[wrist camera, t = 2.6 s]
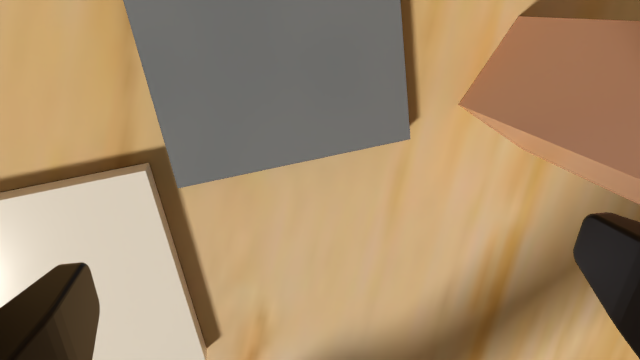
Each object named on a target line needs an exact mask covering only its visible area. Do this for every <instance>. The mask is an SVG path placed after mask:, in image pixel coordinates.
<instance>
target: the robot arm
mask: <svg viewBox="0 0 640 360" xmlns="http://www.w3.org/2000/svg"><path fill="white" fill-rule="evenodd" d="M573 254H574V259H575V261H576V263H577V265H578V266H579V268H580V270H581V271H582V273H583V274H584V276H585V278H586V279H587V281H588V283H589V284H590V286H591V287H592V289H593V291H594V292H595V294H596V296H597V297H598V299H599V300H600V302H601V304H602V305H603V307H604V308H605V310H606V312H607V313H608V315H609V317H610V318H611V320H612V321H613V323H614V324H615V326H616V327H617V329H618V330H619V332H620V333H621V335H622V336H623V337H624V339H625V340H626V341H627V343H628V344H629V345H630V347H631V348H632V349H633V351H634V352H635V353H636V355H637V356H638V357H639V359H640V222H637V221H634V220H631V219H628V218H625V217H622V216H619V215H616V214H613V213H607V212H606V213H596V214H590V215H588V216H586V217H585V219H584V220H583V222H582V225H581V228H580V231H579V234H578V237H577V240H576V243H575V246H574V249H573ZM99 315H100V304H99V299H98V295H97V292H96V288H95V284H94V281H93V277H92V274H91V270H90V268H89V266H88V265H87V264H86V263H84V262H80V263H69V264H60V265H57V266H56V267H54V268H53V269H52V270H50V271H49V272H48V273H46V274H45V275H44V276H42V277H41V278H40V279H38V280H37V281H36V282H34V283H33V284H32V285H30V286H29V287H28V288H26V289H25V290H24V291H22V292H21V293H19V294H18V295H17V296H15V297H14V298H13V299H11V300H10V301H9V302H7V303H6V304H5V305H3V306H2V307H1V308H0V360H92V358H93V352H94V346H95V340H96V334H97V328H98V322H99Z"/></svg>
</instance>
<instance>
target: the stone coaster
mask: <svg viewBox="0 0 640 360" xmlns="http://www.w3.org/2000/svg"><path fill="white" fill-rule="evenodd" d="M80 262H84V263H86V264H87V265H88V266H89V268H90V270H91V274H92V277H93V281H94V284H95V288H96V292H97V295H98V299H99V304H100V315H99V322H98V328H97V334H96V340H95V346H94V352H93V358H92V360H206V356H207V349H206V345H205V342H204V339H203V336H202V333H201V329H200V326H199V323H198V320H197V316H196V313H195V310H194V307H193V304H192V300H191V297H190V294H189V291H188V287H187V284H186V281H185V278H184V275H183V271H182V268H181V265H180V262H179V258H178V255H177V252H176V249H175V245H174V242H173V239H172V236H171V233H170V229H169V226H168V223H167V220H166V216H165V213H164V210H163V207H162V204H161V200H160V197H159V194H158V191H157V187H156V184H155V181H154V178H153V175H152V171H151V168H150V165H149V163H144V164H139V165H134V166H129V167H125V168H120V169H115V170H110V171H105V172H100V173H95V174H90V175H85V176H80V177H75V178H70V179H65V180H60V181H55V182H50V183H45V184H40V185H35V186H30V187H26V188H21V189H16V190H11V191H6V192H1V193H0V308H1V307H2V306H3V305H5V304H6V303H7V302H9V301H10V300H11V299H13V298H14V297H15V296H17V295H18V294H19V293H21V292H22V291H24V290H25V289H26V288H28V287H29V286H30V285H32V284H33V283H34V282H36V281H37V280H38V279H40V278H41V277H42V276H44V275H45V274H46V273H48V272H49V271H50V270H52V269H53V268H54V267H56V266H57V265H60V264H69V263H80Z"/></svg>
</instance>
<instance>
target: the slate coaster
mask: <svg viewBox="0 0 640 360" xmlns="http://www.w3.org/2000/svg"><path fill="white" fill-rule="evenodd" d="M123 1H124V5H125V8H126V11H127V15H128V18H129V22H130V25H131V29H132V32H133V36H134V39H135V42H136V46H137V49H138V53H139V56H140V60H141V63H142V67H143V70H144V73H145V77H146V80H147V84H148V87H149V91H150V94H151V98H152V101H153V104H154V108H155V111H156V115H157V118H158V122H159V125H160V128H161V132H162V135H163V139H164V142H165V146H166V149H167V153H168V156H169V159H170V163H171V166H172V170H173V173H174V177H175V180H176V184H177V187H178V188H181V187H186V186H191V185H196V184H200V183H205V182H210V181H214V180H219V179H224V178H229V177H233V176H238V175H243V174H248V173H252V172H257V171H262V170H266V169H271V168H276V167H281V166H285V165H290V164H295V163H300V162H304V161H309V160H314V159H318V158H323V157H328V156H333V155H337V154H342V153H347V152H351V151H356V150H361V149H366V148H370V147H375V146H380V145H385V144H389V143H394V142H399V141H403V140H408V139H410V127H409V113H408V99H407V85H406V72H405V58H404V44H403V30H402V16H401V2H400V0H123Z"/></svg>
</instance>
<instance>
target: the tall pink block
mask: <svg viewBox="0 0 640 360" xmlns="http://www.w3.org/2000/svg"><path fill="white" fill-rule="evenodd" d="M458 105H460V106H461V107H463V108H464V109H465V110H467V111H468V112H470V113H471V114H473V115H474V116H476V117H477V118H478V119H480V120H481V121H483V122H484V123H486V124H487V125H488V126H490V127H491V128H493V129H494V130H496V131H497V132H499V133H500V134H501V135H503V136H504V137H506V138H507V139H509V140H510V141H511V142H513V143H514V144H516V145H517V146H519V147H520V148H522V149H523V150H525V151H527V152H529V153H531V154H533V155H535V156H537V157H540V158H542V159H544V160H546V161H548V162H550V163H552V164H554V165H556V166H559V167H561V168H563V169H565V170H567V171H569V172H571V173H573V174H576V175H578V176H580V177H582V178H584V179H586V180H588V181H590V182H592V183H595V184H597V185H599V186H601V187H603V188H605V189H607V190H609V191H612V192H614V193H616V194H618V195H620V196H622V197H624V198H626V199H628V200H631V201H633V202H635V203H637V204H639V205H640V21H625V20H599V19H574V18H549V17H523V16H518V18H517V19H516V21H515V22H514V24H513V25H512V27H511V28H510V30H509V31H508V33H507V34H506V36H505V37H504V38H503V40H502V41H501V43H500V44H499V46H498V47H497V49H496V50H495V52H494V53H493V55H492V56H491V58H490V59H489V60H488V62H487V63H486V65H485V66H484V68H483V69H482V71H481V72H480V74H479V75H478V77H477V78H476V80H475V81H474V82H473V84H472V85H471V87H470V88H469V90H468V91H467V93H466V94H465V96H464V97H463V99H462V100H461V102H460V103H459V104H458Z"/></svg>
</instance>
